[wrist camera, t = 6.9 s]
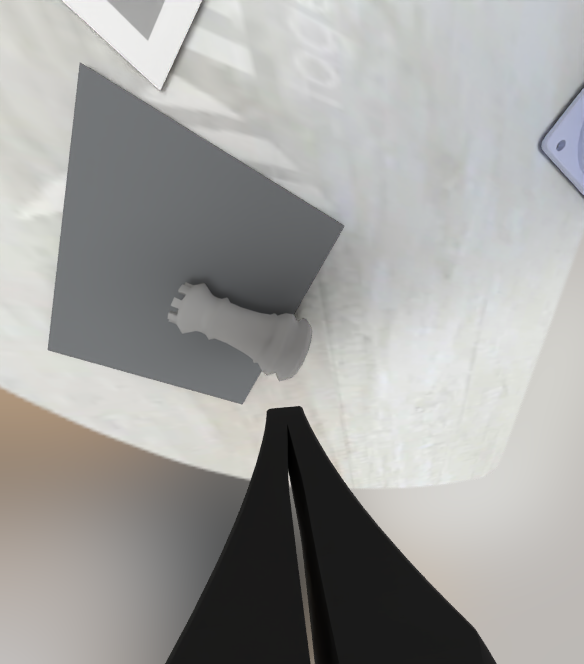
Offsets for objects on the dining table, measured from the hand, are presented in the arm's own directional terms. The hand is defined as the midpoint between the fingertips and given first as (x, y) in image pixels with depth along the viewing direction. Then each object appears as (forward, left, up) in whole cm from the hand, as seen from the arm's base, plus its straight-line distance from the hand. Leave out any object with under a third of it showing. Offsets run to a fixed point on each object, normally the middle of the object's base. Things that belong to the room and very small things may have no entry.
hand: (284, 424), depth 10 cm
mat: (+6, 0, -9) cm, 11 cm away
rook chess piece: (-2, 0, -7) cm, 7 cm away
